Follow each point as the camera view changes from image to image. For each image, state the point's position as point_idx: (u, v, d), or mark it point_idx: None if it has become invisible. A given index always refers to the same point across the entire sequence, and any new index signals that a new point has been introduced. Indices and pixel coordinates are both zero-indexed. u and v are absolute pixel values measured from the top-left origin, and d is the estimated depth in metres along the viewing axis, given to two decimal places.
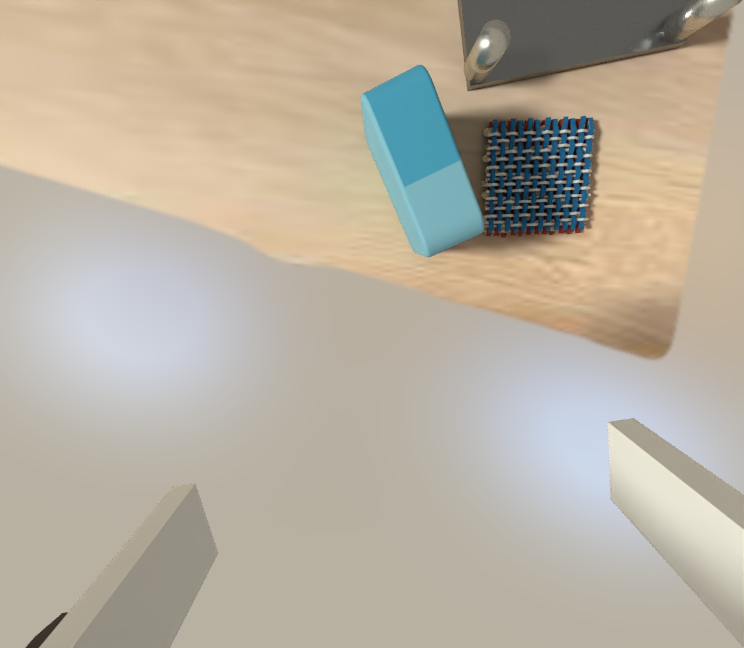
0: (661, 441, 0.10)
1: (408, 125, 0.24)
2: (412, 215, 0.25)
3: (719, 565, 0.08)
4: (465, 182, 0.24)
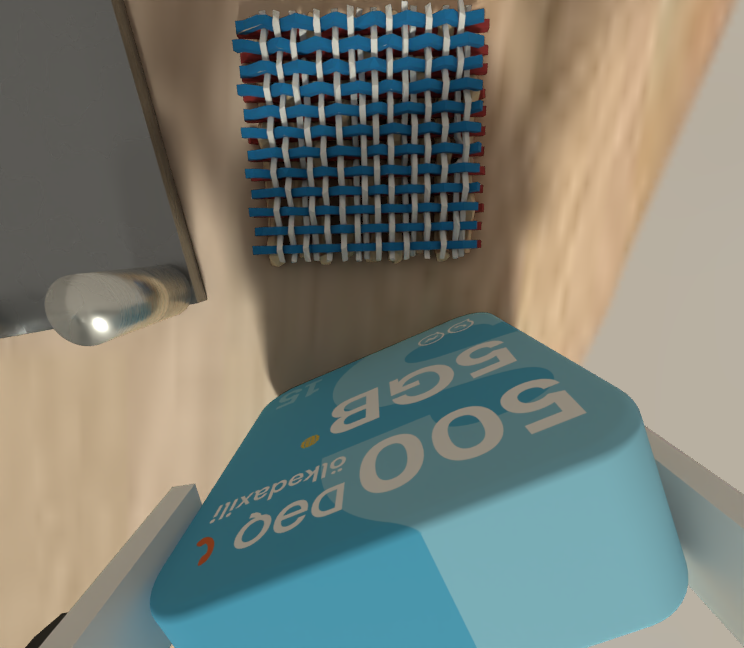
0: (662, 441, 0.10)
1: None
2: None
3: (720, 565, 0.07)
4: (493, 510, 0.07)
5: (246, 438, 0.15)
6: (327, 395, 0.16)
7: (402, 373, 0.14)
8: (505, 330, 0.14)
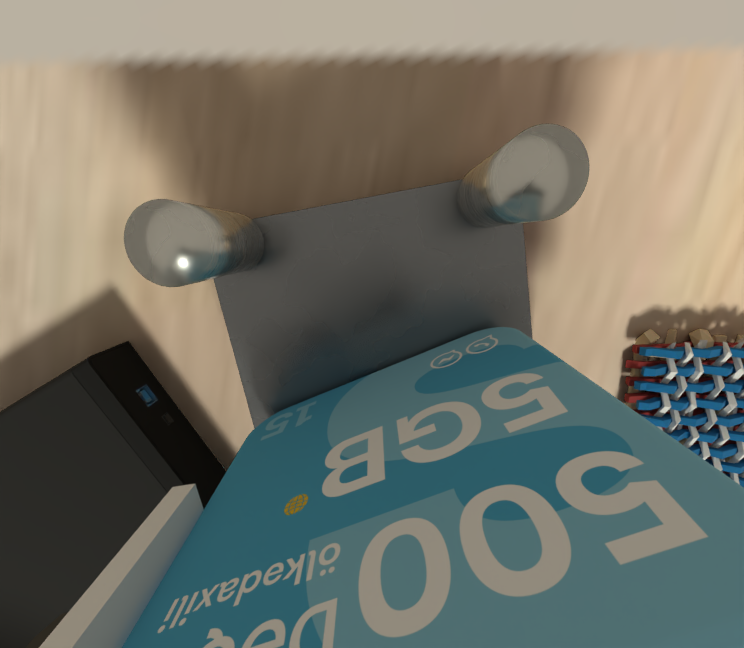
0: None
1: None
2: None
3: None
4: None
5: (222, 481, 0.12)
6: (320, 428, 0.13)
7: (412, 408, 0.12)
8: (542, 359, 0.11)
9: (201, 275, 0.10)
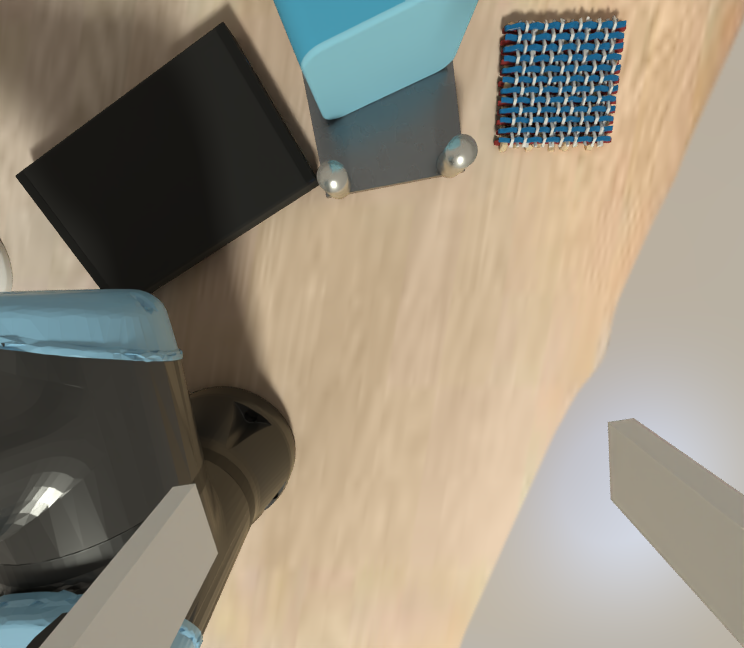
0: (661, 441, 0.10)
1: None
2: None
3: (720, 565, 0.08)
4: None
5: None
6: None
7: None
8: None
9: None
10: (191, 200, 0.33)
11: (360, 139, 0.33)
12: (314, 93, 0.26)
